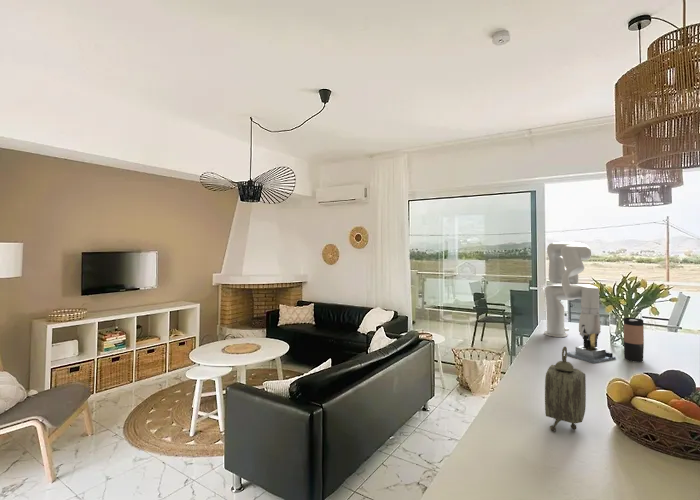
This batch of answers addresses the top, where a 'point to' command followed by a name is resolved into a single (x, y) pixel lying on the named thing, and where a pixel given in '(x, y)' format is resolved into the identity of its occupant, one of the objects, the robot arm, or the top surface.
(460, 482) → the top surface
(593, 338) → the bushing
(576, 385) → the rustic cowbell
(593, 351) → the jig
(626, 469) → the top surface
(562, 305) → the robot arm
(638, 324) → the travel mug
